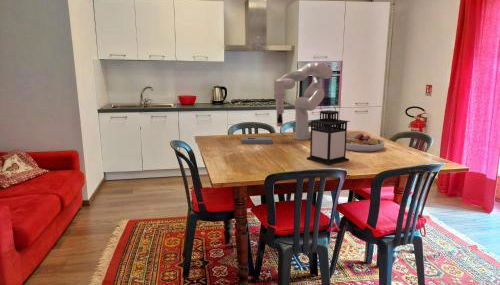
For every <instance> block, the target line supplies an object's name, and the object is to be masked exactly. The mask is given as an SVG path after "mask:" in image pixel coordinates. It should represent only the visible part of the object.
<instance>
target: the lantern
mask: <svg viewBox="0 0 500 285" xmlns="http://www.w3.org/2000/svg"><path fill="white" fill-rule="evenodd" d="M324 102H325V100H322V101H321V102H320V103H319V105H320V107H319V108H320V111H318V112H319V118H318V119H311V120H309V119H308V122H310V134H311V136H310V142H309V143H310V144H309V146H310V147H309V151H310V152H309V153H310V154H309V156H307V157H306V160H307V161H311V162H315V163H318V164H319V163H320V164H323V165H326V166H332V165H337V164H342V163H345V162H348V161H350V159H349V158H347V157H346V156H347V155H346V153H347V152H346V151H347V150H346V142H347V141H346V137H347V135H348V134H347V130H348V122H351V120H344V119H339V115H340V114H339V113H340V111H339V110H337V109H336V106H335V105H334V104H333V103H332V102H330V101H329V100H326V102H327V103H330V104H331V105H332V106H333V108H334V109H335V110H330V109H329V110H328V109H327V110H322V103H324Z"/></svg>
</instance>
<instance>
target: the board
mask: <svg viewBox="0 0 500 285" xmlns="http://www.w3.org/2000/svg"><path fill="white" fill-rule="evenodd" d="M240 142H241V144H240V145H273V137H272V136H242V137H241V140H240Z"/></svg>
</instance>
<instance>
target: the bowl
mask: <svg viewBox="0 0 500 285" xmlns="http://www.w3.org/2000/svg"><path fill="white" fill-rule="evenodd" d="M346 141H347V142H346V151H350V152H351V151H352V152H363V153H364V152H365V153H368V152H369V153H371V152H377V151H380V150H382V149H383V148H384V147H385V141H384V140H382V139H379V138H376V137H375V138H374V137H370V135H368V134H367V135H364V134H363V133H357V134H356V136H346Z"/></svg>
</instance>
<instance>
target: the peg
mask: <svg viewBox="0 0 500 285" xmlns="http://www.w3.org/2000/svg"><path fill="white" fill-rule="evenodd" d="M278 113H279V112H278ZM278 113H277V112H276V127H283V122H284V120H283V119H284V118H283V114H284V113H283V112H282V123H278Z"/></svg>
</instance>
